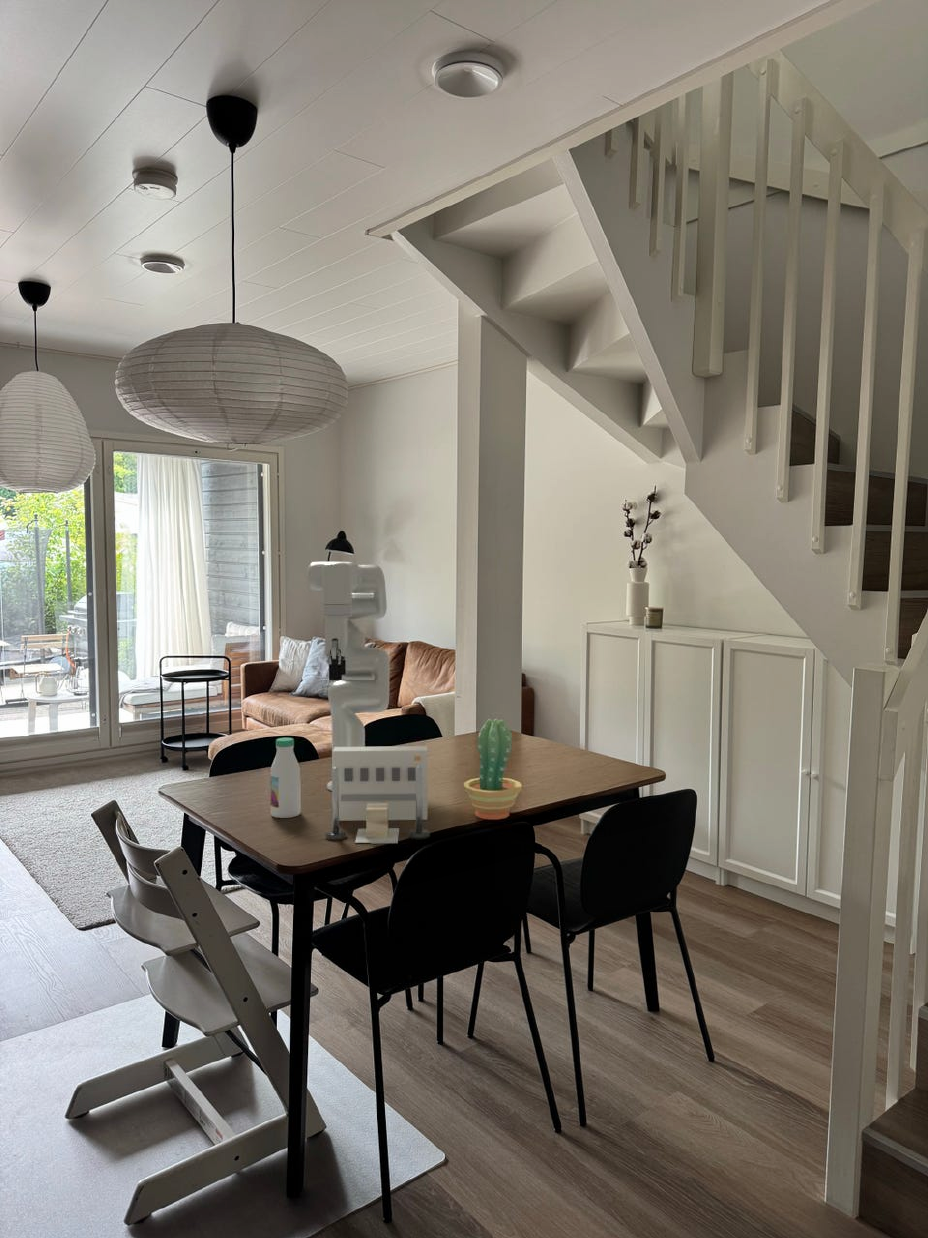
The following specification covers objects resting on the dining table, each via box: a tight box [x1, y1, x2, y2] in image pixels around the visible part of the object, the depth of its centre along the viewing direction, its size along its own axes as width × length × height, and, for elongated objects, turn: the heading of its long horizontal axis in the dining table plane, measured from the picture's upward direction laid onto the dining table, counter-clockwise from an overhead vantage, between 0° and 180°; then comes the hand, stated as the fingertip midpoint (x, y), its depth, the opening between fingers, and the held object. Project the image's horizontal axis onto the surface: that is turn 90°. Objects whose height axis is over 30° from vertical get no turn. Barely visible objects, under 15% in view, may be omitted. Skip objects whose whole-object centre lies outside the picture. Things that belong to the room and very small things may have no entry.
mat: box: [354, 827, 400, 845], centre depth 207 cm, size 10×10×1 cm
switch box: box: [333, 745, 429, 822], centre depth 222 cm, size 6×24×18 cm, turn 92°
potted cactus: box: [463, 718, 523, 820], centre depth 224 cm, size 15×15×25 cm
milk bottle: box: [269, 737, 302, 819], centre depth 224 cm, size 8×8×20 cm
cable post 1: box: [324, 766, 347, 841], centre depth 206 cm, size 5×5×17 cm
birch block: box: [365, 803, 389, 838], centre depth 207 cm, size 5×5×7 cm
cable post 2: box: [408, 766, 431, 840], centre depth 207 cm, size 5×5×17 cm
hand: (337, 677), depth 221 cm, fingers open, 9 cm apart
